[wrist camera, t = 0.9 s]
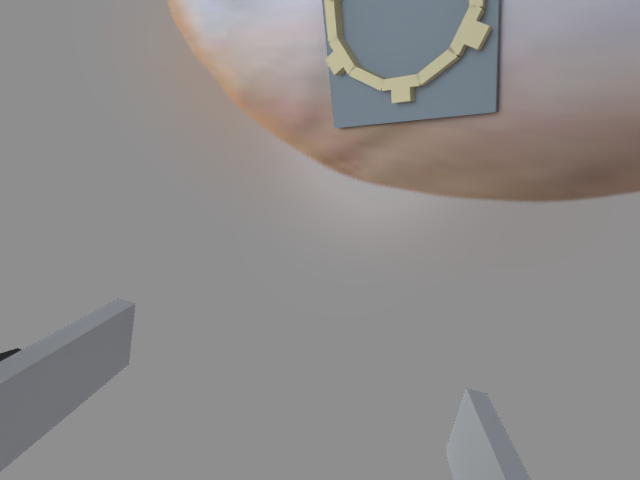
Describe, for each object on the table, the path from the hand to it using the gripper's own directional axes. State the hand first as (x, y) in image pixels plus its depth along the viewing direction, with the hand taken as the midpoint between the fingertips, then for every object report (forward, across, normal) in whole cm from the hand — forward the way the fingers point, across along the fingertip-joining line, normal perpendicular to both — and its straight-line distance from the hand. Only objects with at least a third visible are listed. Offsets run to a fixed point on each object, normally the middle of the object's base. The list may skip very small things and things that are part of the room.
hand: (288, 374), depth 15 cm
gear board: (+26, +1, +23) cm, 35 cm away
